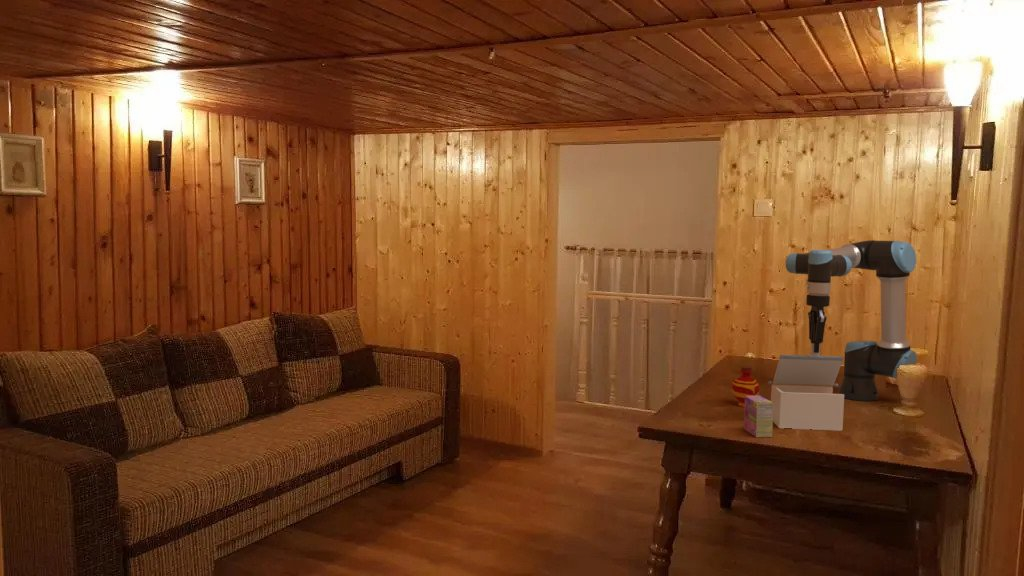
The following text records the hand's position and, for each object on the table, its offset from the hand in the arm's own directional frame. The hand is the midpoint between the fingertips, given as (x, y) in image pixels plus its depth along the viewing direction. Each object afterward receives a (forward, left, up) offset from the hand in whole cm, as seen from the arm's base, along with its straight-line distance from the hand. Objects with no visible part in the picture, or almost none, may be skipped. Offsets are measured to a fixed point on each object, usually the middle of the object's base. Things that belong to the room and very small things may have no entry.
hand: (814, 361), depth 267 cm
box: (+22, +15, -23) cm, 35 cm away
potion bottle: (+18, -25, -23) cm, 38 cm away
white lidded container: (+2, +1, -22) cm, 23 cm away
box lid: (+2, -1, -4) cm, 4 cm away
